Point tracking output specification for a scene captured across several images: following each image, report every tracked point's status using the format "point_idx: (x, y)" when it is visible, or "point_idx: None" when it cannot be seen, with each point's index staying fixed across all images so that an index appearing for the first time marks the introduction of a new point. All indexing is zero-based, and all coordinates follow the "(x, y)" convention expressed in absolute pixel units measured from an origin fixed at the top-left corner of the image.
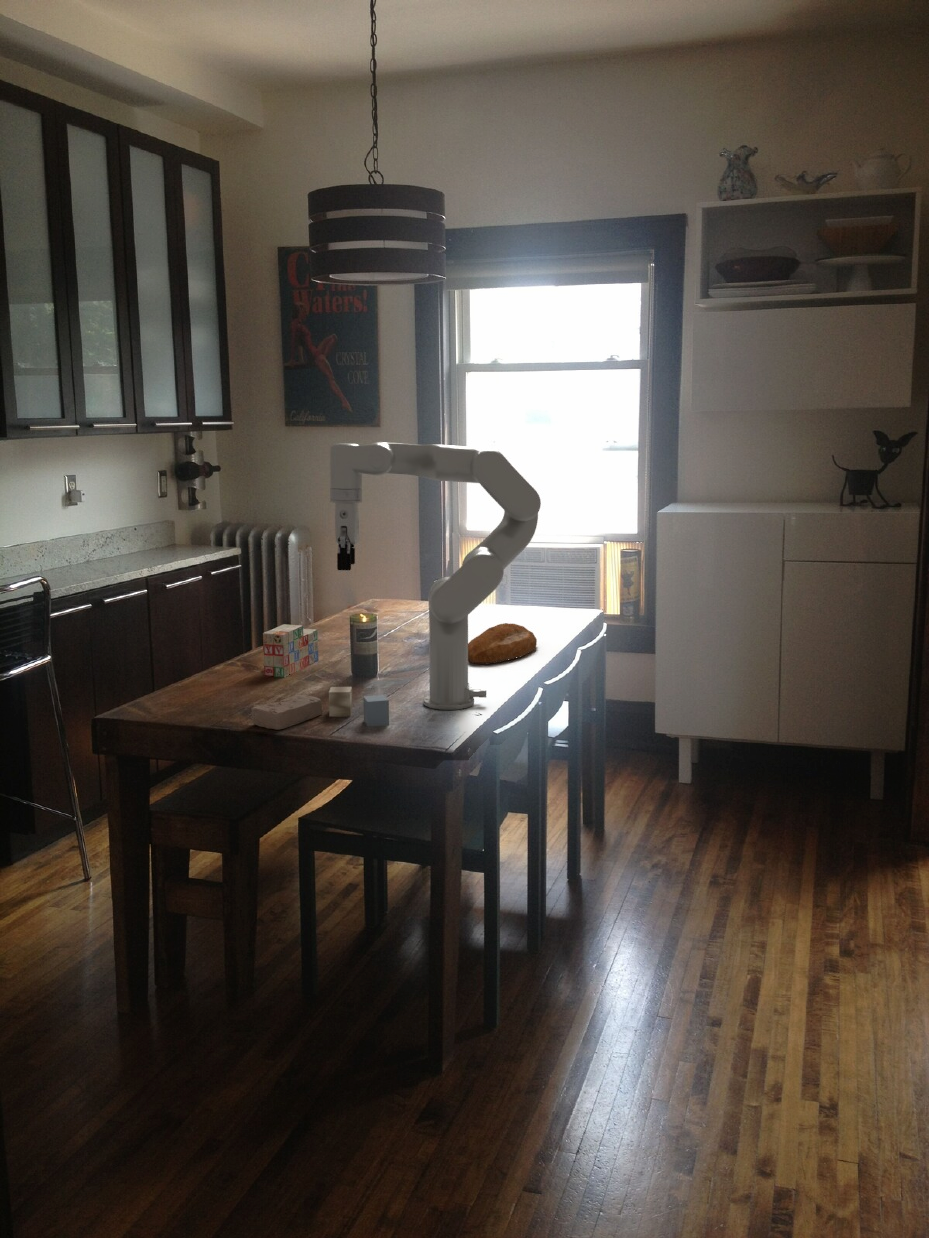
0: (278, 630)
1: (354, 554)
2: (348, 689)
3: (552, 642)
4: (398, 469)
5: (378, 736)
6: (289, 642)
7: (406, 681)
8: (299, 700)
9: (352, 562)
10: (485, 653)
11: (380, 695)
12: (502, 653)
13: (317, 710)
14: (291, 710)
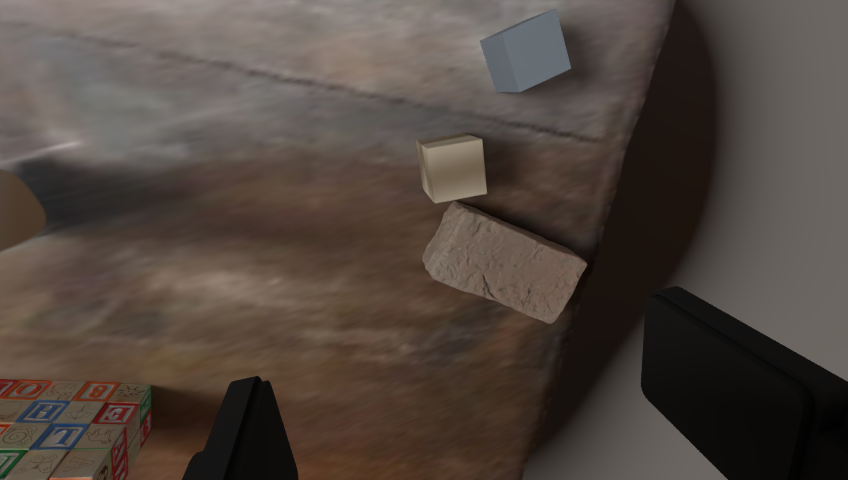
0: None
1: (231, 462)
2: (455, 150)
3: None
4: None
5: (611, 29)
6: (64, 449)
7: (62, 45)
8: (483, 255)
9: (270, 401)
10: None
11: (509, 43)
12: None
13: (474, 209)
14: (552, 247)
